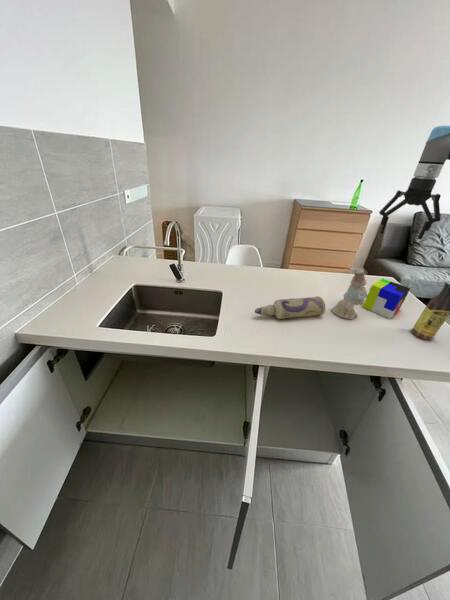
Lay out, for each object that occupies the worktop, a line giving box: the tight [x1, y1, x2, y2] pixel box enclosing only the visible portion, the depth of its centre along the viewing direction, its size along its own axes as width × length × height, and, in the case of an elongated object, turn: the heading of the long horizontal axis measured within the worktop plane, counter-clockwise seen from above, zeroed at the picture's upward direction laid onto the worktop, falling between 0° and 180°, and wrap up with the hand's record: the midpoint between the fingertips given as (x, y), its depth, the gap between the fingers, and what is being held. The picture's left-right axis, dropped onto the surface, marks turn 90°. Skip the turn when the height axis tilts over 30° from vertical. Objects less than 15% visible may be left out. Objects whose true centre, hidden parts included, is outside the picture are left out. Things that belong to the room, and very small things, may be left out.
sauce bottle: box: [411, 281, 450, 341], centre depth 79 cm, size 6×6×20 cm
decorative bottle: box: [254, 295, 326, 320], centre depth 88 cm, size 26×8×7 cm, turn 101°
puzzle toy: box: [362, 278, 411, 320], centre depth 95 cm, size 10×10×10 cm
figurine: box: [331, 267, 368, 320], centre depth 87 cm, size 9×8×20 cm
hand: (399, 235), depth 99 cm, fingers open, 13 cm apart
